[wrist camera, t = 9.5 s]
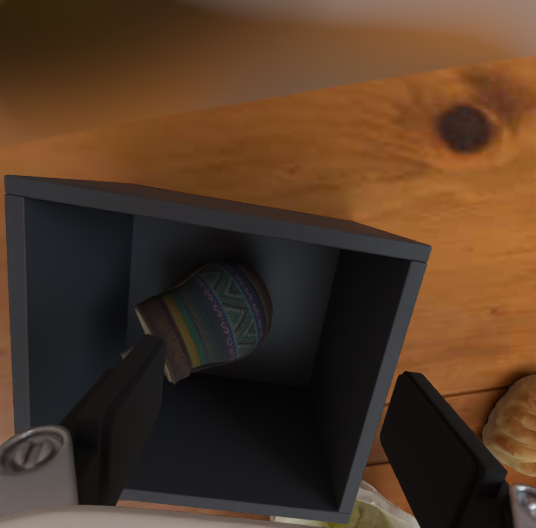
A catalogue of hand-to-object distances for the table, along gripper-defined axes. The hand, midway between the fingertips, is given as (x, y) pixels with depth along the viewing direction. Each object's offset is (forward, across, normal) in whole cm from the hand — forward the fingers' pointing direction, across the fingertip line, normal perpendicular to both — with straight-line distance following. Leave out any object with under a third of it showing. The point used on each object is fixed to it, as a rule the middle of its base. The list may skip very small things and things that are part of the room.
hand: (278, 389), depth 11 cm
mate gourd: (+12, +1, +1) cm, 12 cm away
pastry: (+16, -27, +11) cm, 33 cm away
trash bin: (+15, +3, +3) cm, 16 cm away
